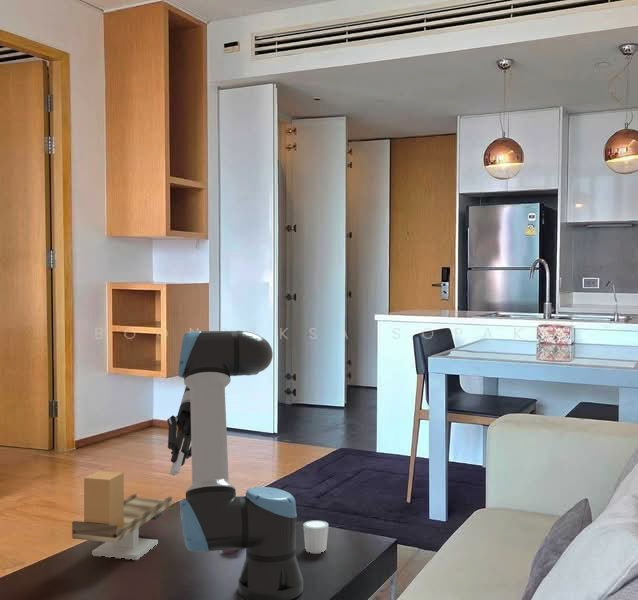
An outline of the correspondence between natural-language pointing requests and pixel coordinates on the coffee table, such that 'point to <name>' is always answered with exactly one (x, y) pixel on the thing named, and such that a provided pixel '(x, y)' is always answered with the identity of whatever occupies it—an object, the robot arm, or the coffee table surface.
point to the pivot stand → (126, 547)
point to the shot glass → (315, 536)
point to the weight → (104, 498)
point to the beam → (134, 517)
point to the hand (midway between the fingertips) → (174, 473)
